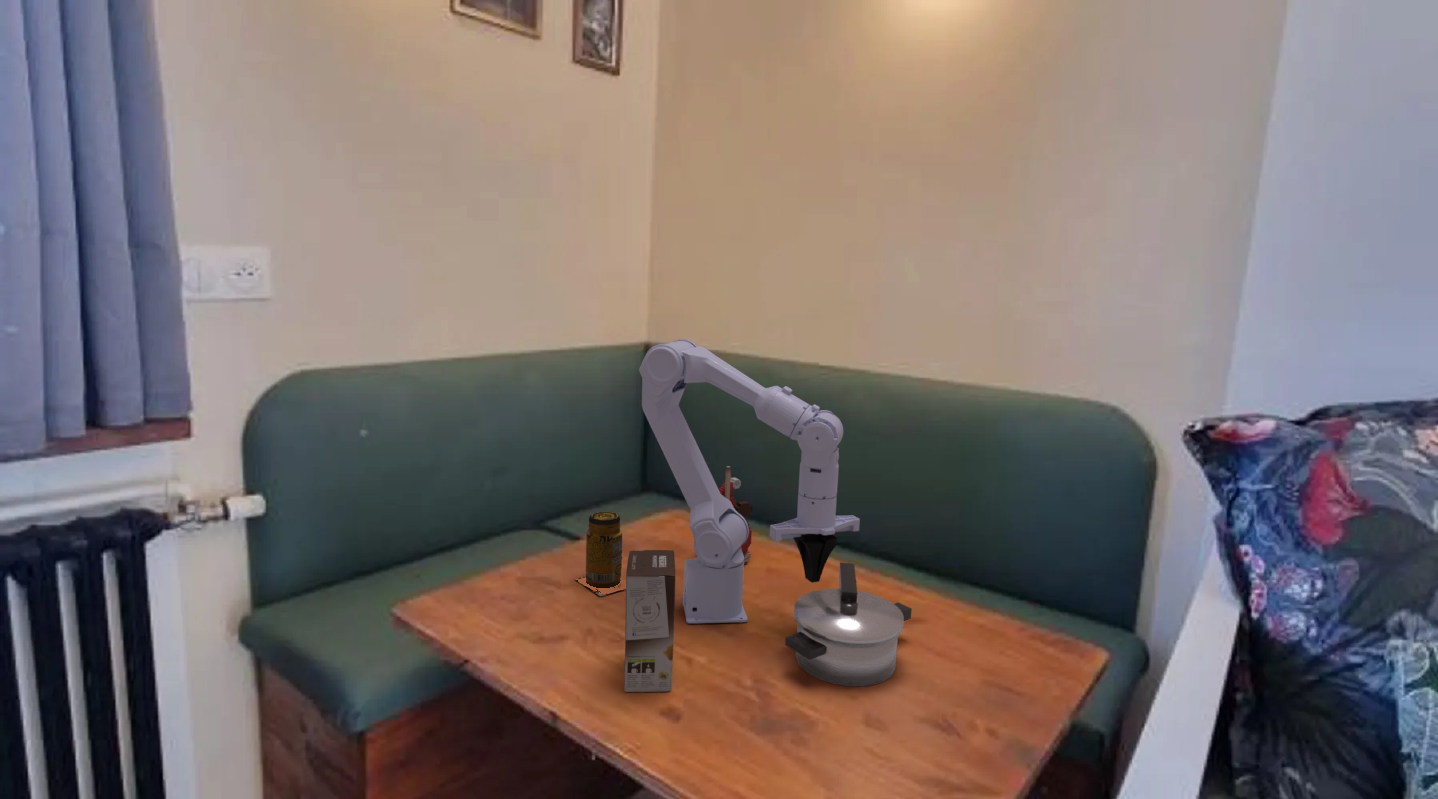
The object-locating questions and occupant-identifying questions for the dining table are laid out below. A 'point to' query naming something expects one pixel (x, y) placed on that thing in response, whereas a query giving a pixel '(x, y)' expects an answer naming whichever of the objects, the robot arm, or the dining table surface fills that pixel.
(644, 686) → the coffee box
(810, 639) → the cooker pot
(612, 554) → the condiment
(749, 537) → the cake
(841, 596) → the lid
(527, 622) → the dining table surface
